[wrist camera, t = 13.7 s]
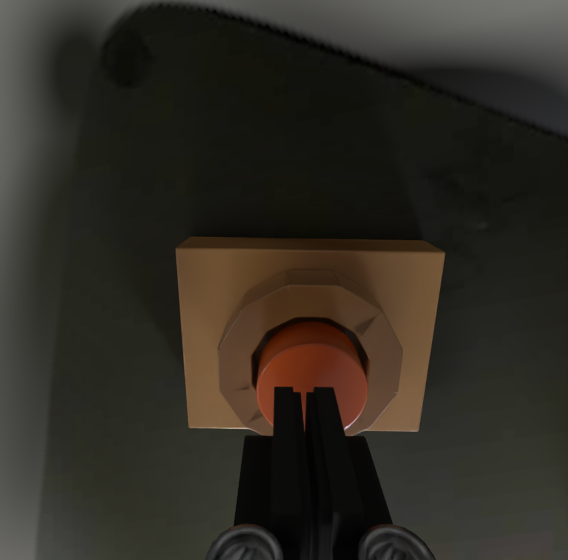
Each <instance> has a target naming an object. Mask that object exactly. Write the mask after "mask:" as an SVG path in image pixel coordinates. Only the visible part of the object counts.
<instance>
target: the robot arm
mask: <svg viewBox="0 0 568 560" xmlns="http://www.w3.org/2000/svg"><path fill="white" fill-rule="evenodd" d="M205 560H436V559H435V557H434V555H433V554H432V552H431V551H430V549H429V548H428V547H427V545H426V544H425V542H424V541H422V540H421V539H420V538H419V537H418V536H417V535H416V534H414V533H413V532H411V531H409V530H407V529H406V528H404V527H400V526H397V525H393V523H392V520H391V517H390V514H389V510H388V507H387V504H386V501H385V498H384V495H383V491H382V488H381V485H380V482H379V479H378V476H377V472H376V469H375V466H374V463H373V460H372V457H371V453H370V450H369V447H368V444H367V441H366V439H365V437H364V436H345V432H344V428H343V424H342V420H341V415H340V411H339V407H338V403H337V399H336V395H335V391H334V388H333V387H314V389H313V392H307V393H306V412H305V431H304V421H303V410H302V400H301V392H294V391H293V387H274V420H273V436H245V440H244V448H243V456H242V464H241V472H240V480H239V488H238V496H237V504H236V512H235V519H234V527H231V528H229V529H228V530H226V531H224V532H223V533H221V534H220V535H219V536H218V537H217V538H216V540H215V541H214V542H213V543H212V545H211V547H210V549H209V551H208V553H207V556H206V559H205Z"/></svg>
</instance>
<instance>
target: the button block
mask: <svg viewBox="0 0 568 560" xmlns="http://www.w3.org/2000/svg"><path fill="white" fill-rule="evenodd" d="M175 250H176V263H177V277H178V291H179V304H180V318H181V331H182V345H183V358H184V372H185V386H186V399H187V413H188V426H189V428H232V429H251V430H253V431H255V432H257V433H259V434H261V435H263V436H273V426H272V425H271V424H270V423H269V422H268V421H267V419H266V418H265V417H264V415H263V413H262V412H261V410H260V408H259V405H258V402H257V396H256V386H257V378H258V370H259V363H260V357H261V354H262V351H263V349H264V347H265V345H266V343H267V342H268V341H269V339H270V338H271V337H272V336H273V335H274V334H276V333H277V332H278V331H279V330H281V329H283V328H285V327H287V326H289V325H291V324H295V323H299V322H306V321H313V322H321V323H325V324H328V325H331V326H333V327H335V328H337V329H339V330H340V331H342V332H343V333H344V334H345V335H346V336H347V337H348V338H349V339H350V340H351V342H352V343H353V345H354V347H355V349H356V351H357V354H358V356H359V359H360V362H361V364H362V367H363V370H364V372H365V375H366V379H367V384H368V396H367V401H366V404H365V407H364V409H363V411H362V413H361V414H360V416H359V417H358V418H357V419H356V421H355V422H354V423H353V424H351V425H350V426H349V427H348V428H346V429H345V430H344V432H345V436H353V435H355V434H358V433H360V432H362V431H418V430H419V425H420V418H421V411H422V405H423V398H424V392H425V385H426V378H427V372H428V365H429V358H430V352H431V345H432V338H433V332H434V325H435V319H436V312H437V305H438V299H439V292H440V285H441V279H442V272H443V265H444V259H445V252H443V251H442V250H440V249H438V248H436V247H435V246H433V245H431V244H430V243H428V242H426V241H424V240H367V239H307V238H247V237H189V238H188V239H187V240H185V241H184V242H183V243H181V244H180V245H179V246H178V247H176V249H175Z"/></svg>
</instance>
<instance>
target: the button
mask: <svg viewBox="0 0 568 560" xmlns="http://www.w3.org/2000/svg"><path fill="white" fill-rule="evenodd" d="M274 387H293V391H294V392H301V400H302V410H303V421H304V431H305V412H306V393H307V392H313V389H314V387H333V388H334V391H335V395H336V399H337V403H338V407H339V411H340V415H341V420H342V424H343V428H344V430H345V429H346V428H348V427H349V426H350V425H351V424H353V423H354V422H355V421H356V419H357V418H358V417H359V416H360V414H361V413H362V411H363V409H364V407H365V404H366V401H367V396H368V384H367V379H366V375H365V372H364V370H363V367H362V364H361V362H360V359H359V356H358V354H357V351H356V349H355V347H354V345H353V343H352V342H351V340H350V339H349V338H348V337H347V336H346V335H345V334H344V333H343V332H342V331H340V330H339V329H337V328H335V327H333V326H331V325H328V324H325V323H321V322H313V321H306V322H299V323H295V324H291V325H289V326H287V327H285V328H283V329H281V330H279V331H278V332H277V333H276V334H274V335H273V336H272V337H271V338H270V339H269V341H268V342H267V343H266V345H265V347H264V349H263V351H262V354H261V357H260V363H259V370H258V378H257V386H256V396H257V402H258V405H259V408H260V410H261V412H262V413H263V415H264V417H265V418H266V419H267V421H268V422H269V423H270V424H271V425H272V426H273V420H274Z"/></svg>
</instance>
